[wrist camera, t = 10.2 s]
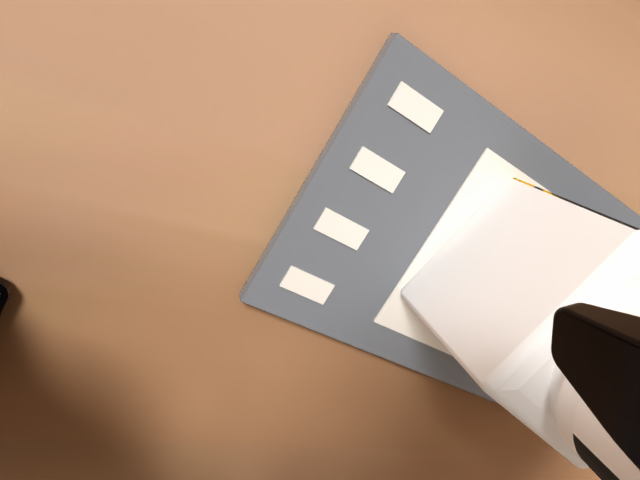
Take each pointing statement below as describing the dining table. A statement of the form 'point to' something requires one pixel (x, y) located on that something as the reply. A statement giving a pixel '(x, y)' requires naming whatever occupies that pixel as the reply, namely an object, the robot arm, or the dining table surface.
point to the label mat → (400, 207)
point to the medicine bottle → (530, 308)
